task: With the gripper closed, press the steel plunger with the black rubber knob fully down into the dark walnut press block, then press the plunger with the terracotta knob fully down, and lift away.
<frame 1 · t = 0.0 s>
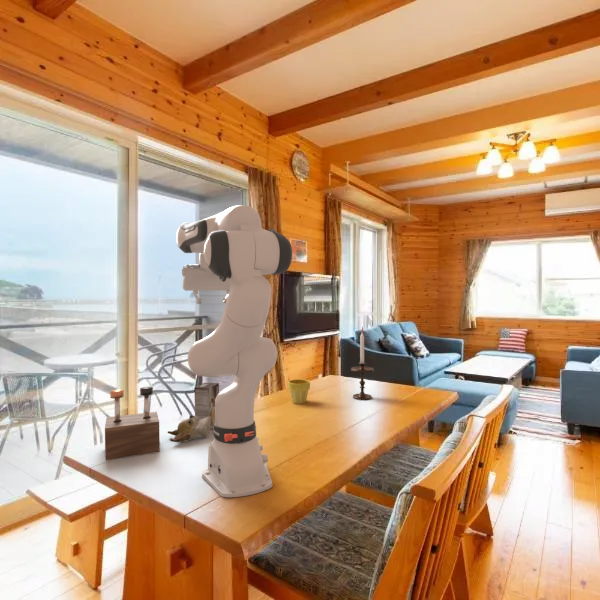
hand: (212, 303, 145), 48 cm above the table, fingers open, 8 cm apart
black knob plunger: (146, 407, 136), point 14 cm above the table, slide at 0.0 cm
plant pot: (299, 402, 191), on the table
press block: (132, 449, 134), on the table
candlestick: (362, 398, 198), on the table
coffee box: (207, 426, 157), on the table
terracotta knob plunger: (117, 410, 132), point 14 cm above the table, slide at 0.0 cm
ceramic sculpture: (190, 439, 144), on the table
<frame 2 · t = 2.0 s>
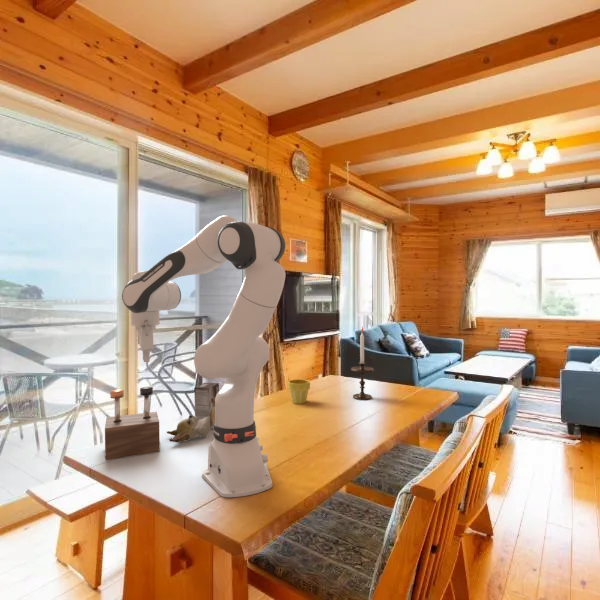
hand: (146, 361, 136), 29 cm above the table, fingers closed
nothing on the table moved.
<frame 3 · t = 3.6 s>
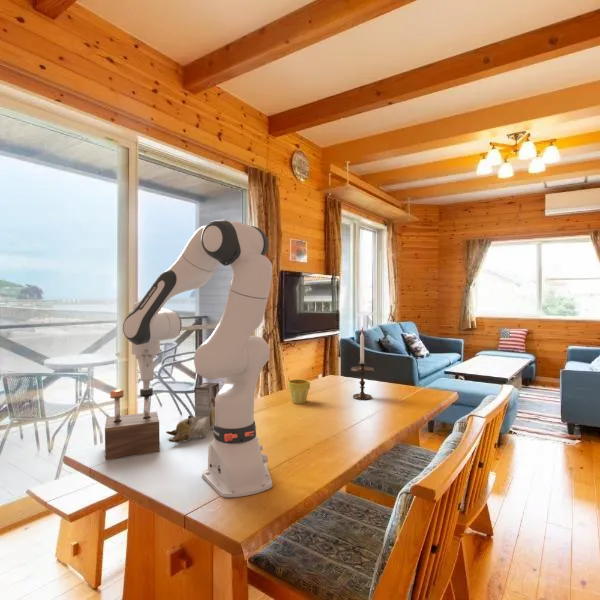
hand: (146, 389, 136), 20 cm above the table, fingers closed, pressing on black knob plunger
black knob plunger: (146, 408, 136), point 13 cm above the table, slide at 0.4 cm, touching gripper
everything else where it was.
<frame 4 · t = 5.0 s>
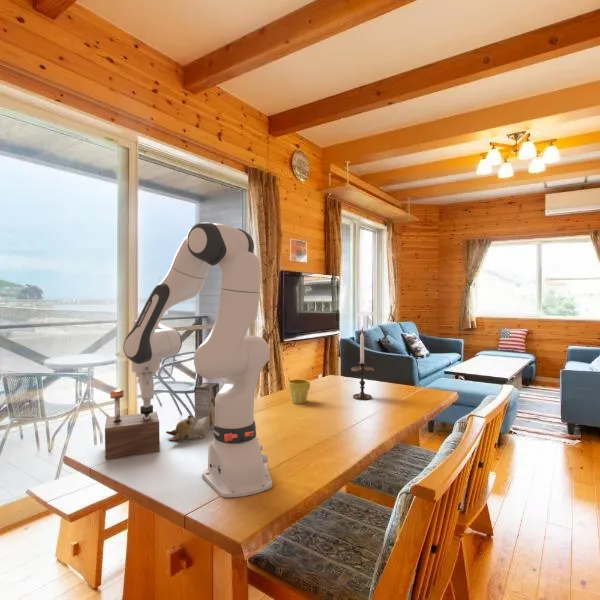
hand: (146, 406, 136), 14 cm above the table, fingers closed, pressing on black knob plunger
black knob plunger: (147, 425, 136), point 7 cm above the table, slide at 6.2 cm, touching gripper
everything else where it was.
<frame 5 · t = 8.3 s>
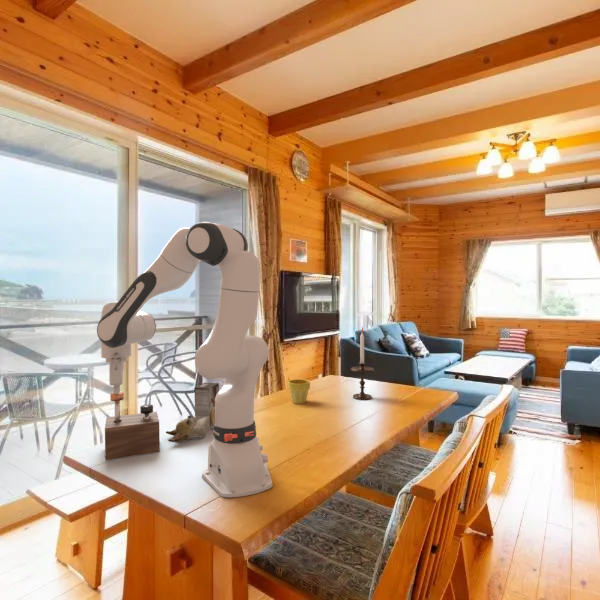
hand: (116, 393, 132), 19 cm above the table, fingers closed, pressing on terracotta knob plunger
black knob plunger: (147, 425, 136), point 7 cm above the table, slide at 6.1 cm
terracotta knob plunger: (117, 413, 132), point 13 cm above the table, slide at 0.9 cm, touching gripper
everything else where it was.
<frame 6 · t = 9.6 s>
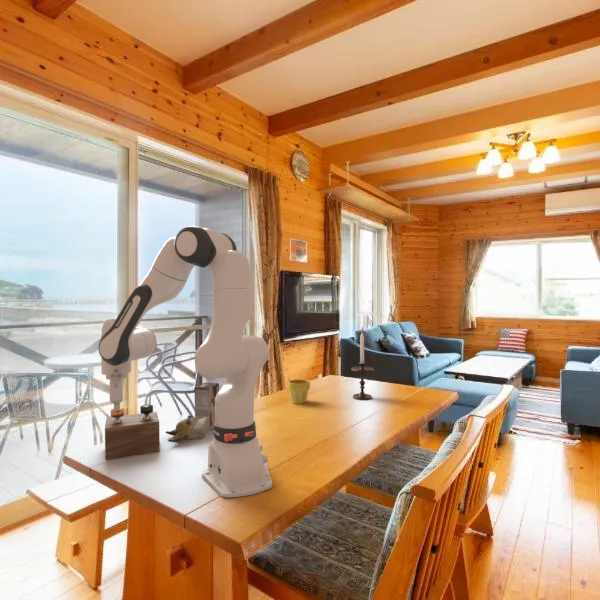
hand: (117, 409, 132), 14 cm above the table, fingers closed, pressing on terracotta knob plunger
terracotta knob plunger: (117, 429, 132), point 7 cm above the table, slide at 6.2 cm, touching gripper
everything else where it was.
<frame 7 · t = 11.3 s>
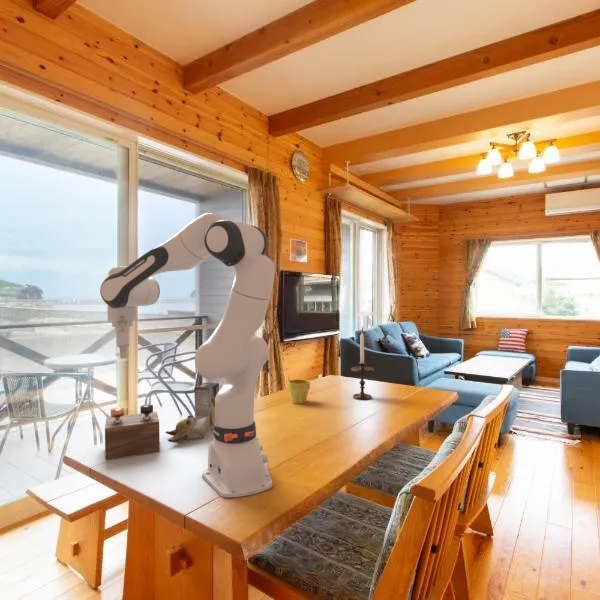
hand: (123, 357, 134), 31 cm above the table, fingers closed
terracotta knob plunger: (117, 429, 132), point 7 cm above the table, slide at 6.1 cm
everything else where it was.
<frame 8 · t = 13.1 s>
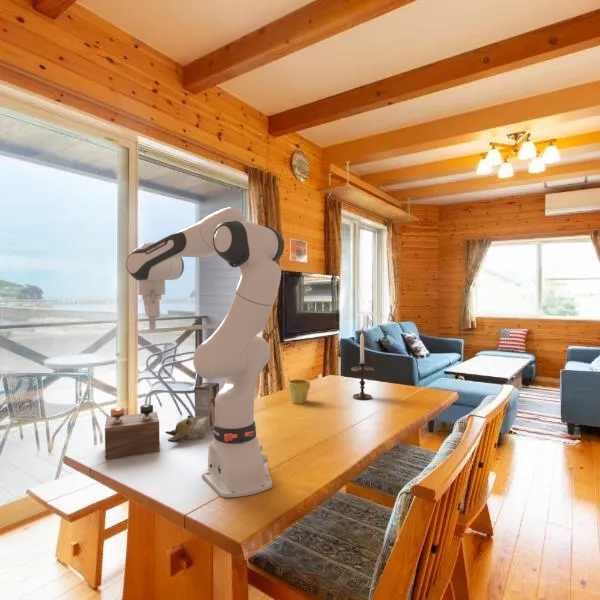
hand: (152, 329, 142), 39 cm above the table, fingers closed
nothing on the table moved.
at the end: black knob plunger slide at 6.1 cm; terracotta knob plunger slide at 6.1 cm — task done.
